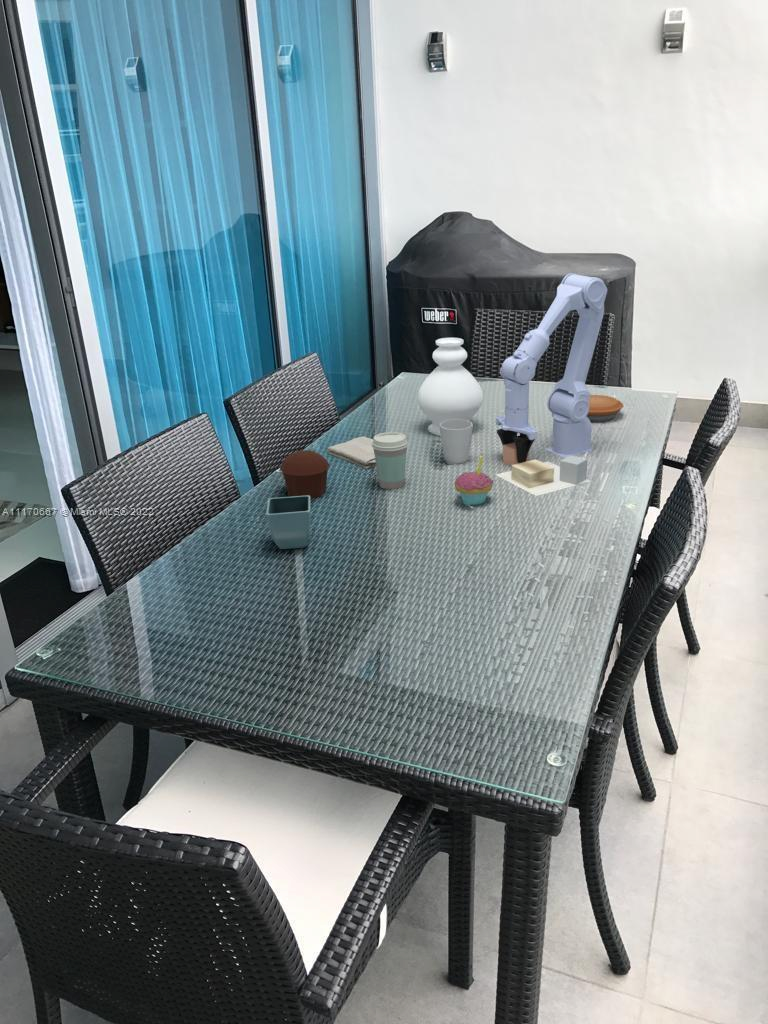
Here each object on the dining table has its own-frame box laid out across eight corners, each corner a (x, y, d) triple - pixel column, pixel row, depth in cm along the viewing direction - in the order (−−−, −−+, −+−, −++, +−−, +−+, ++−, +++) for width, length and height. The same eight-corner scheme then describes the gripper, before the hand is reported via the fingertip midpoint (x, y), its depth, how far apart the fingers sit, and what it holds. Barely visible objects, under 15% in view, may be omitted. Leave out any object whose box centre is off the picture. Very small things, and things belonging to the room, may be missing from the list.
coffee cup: (415, 480, 211) (413, 433, 206) (400, 493, 204) (398, 444, 199) (383, 476, 214) (380, 429, 210) (367, 488, 207) (365, 440, 203)
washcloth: (368, 471, 219) (368, 460, 218) (325, 455, 232) (324, 444, 230) (403, 459, 226) (403, 448, 225) (360, 444, 239) (359, 433, 237)
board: (548, 463, 218) (548, 461, 217) (591, 483, 205) (591, 481, 204) (495, 477, 211) (495, 474, 211) (536, 498, 198) (536, 496, 198)
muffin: (273, 499, 204) (269, 458, 200) (294, 482, 213) (291, 443, 209) (320, 504, 200) (317, 463, 196) (339, 486, 210) (336, 447, 206)
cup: (472, 456, 225) (472, 419, 220) (472, 467, 217) (472, 429, 213) (441, 456, 225) (440, 419, 221) (439, 467, 218) (439, 429, 214)
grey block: (569, 474, 208) (570, 455, 206) (586, 478, 206) (587, 459, 204) (559, 480, 205) (560, 460, 203) (576, 484, 203) (577, 464, 201)
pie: (567, 424, 245) (568, 407, 243) (566, 408, 259) (567, 391, 257) (624, 425, 243) (625, 407, 241) (620, 408, 257) (621, 392, 255)
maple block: (535, 473, 210) (535, 459, 209) (553, 481, 205) (554, 467, 203) (511, 479, 207) (511, 465, 206) (529, 488, 202) (529, 474, 200)
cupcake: (496, 497, 199) (496, 447, 195) (487, 511, 192) (488, 460, 187) (459, 493, 202) (459, 444, 197) (450, 508, 195) (449, 457, 190)
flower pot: (271, 536, 185) (267, 497, 182) (313, 533, 186) (310, 494, 182) (270, 554, 177) (266, 514, 173) (313, 551, 178) (310, 511, 174)
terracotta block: (517, 460, 221) (517, 441, 219) (528, 465, 217) (528, 446, 215) (502, 464, 219) (503, 445, 217) (513, 469, 215) (513, 450, 213)
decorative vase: (485, 438, 237) (485, 347, 227) (419, 440, 238) (417, 349, 228) (479, 418, 253) (479, 332, 243) (418, 420, 254) (416, 334, 244)
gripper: (485, 402, 216) (485, 454, 221) (521, 416, 204) (520, 471, 210) (509, 397, 219) (508, 448, 224) (545, 411, 207) (543, 465, 213)
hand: (515, 459), depth 217 cm, fingers closed on terracotta block, 4 cm apart
